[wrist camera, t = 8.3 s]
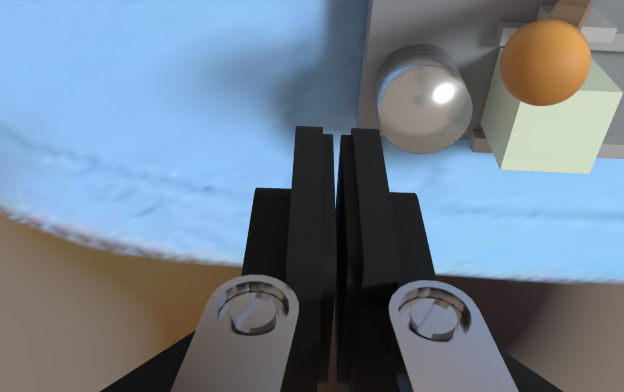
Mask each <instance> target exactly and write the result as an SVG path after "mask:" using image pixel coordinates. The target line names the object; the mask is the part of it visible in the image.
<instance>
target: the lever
mask: <svg viewBox="0 0 624 392" xmlns="http://www.w3.org/2000/svg"><path fill="white" fill-rule="evenodd" d="M593 1H594V0H559V1H558V2H557V4H556V6H555V7H554V9H553V10H552V12H551V14H550V15H549V17H548V18H547V19H543V20H538V21H534V22H532V23H529V24H527V25H525V26H523V27H522V28H520V29H519V30H518V31H516V32H515V33H514V34H513V35H512V36H511V37H510V39H509V40H508V41H507V43H506V45H505V47H504V49H503V51H502V54H501V58H500V75H501V79H502V81H503V84H504V86H505V87H506V89H507V90H508V91H509V93H510V94H511V95H512V96H514V97H515V98H516V99H518V100H519V101H521V102H523V103H526V104H529V105H533V106H550V105H554V104H558V103H560V102H563V101H565V100H567V99H568V98H570V97H571V96H573V95H574V94H575V93H576V92H577V91H578V90H579V89H580V88H581V87H582V85H583V84H584V82H585V81H586V79H587V77H588V74H589V71H590V67H591V51H590V47H589V44H588V42H587V40H586V38H585V37H584V35H583V34H582V33H581V32H580V31H581V29H582V27H583V25H584V23H585V20H586V18H587V16H588V14H589V12H590V9H591V6H592V3H593Z"/></svg>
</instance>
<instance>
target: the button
mask: <svg viewBox="0 0 624 392" xmlns="http://www.w3.org/2000/svg"><path fill="white" fill-rule="evenodd" d="M375 94H376V101H377V107H378V113H379V119H380V125H381V129H382V131H383V133H384V135H385V137H386V138H387V139H388V140H389V142H390V143H392V144H393V145H394V146H396V147H397V148H399V149H401V150H403V151H406V152H410V153H416V154H426V153H433V152H437V151H440V150H442V149H444V148H446V147H448V146H450V145H452V144H453V143H454V142H456V141H457V140H458V139H459V138H460V137H461V136H462V135H463V133H464V132H465V131H466V129H467V128H468V126H469V123H470V121H471V118H472V110H473V106H472V100H471V97H470V95H469V92H468V90H467V88H466V86H465V83H464V81H463V79H462V76H461V74H460V72H459V70H458V67H457V65H456V63H455V61H454V60H453V58H452V57H451V56H450V55H449V54H448V53H447V52H445V51H444V50H442V49H440V48H438V47H436V46H432V45H427V44H415V45H410V46H406V47H404V48H401V49H399V50H397V51H396V52H394V53H393V54H391V55H390V56H389V57H388V58H387V59H386V60H385V61H384V62H383V64H382V65H381V67H380V68H379V70H378V72H377V75H376V79H375Z"/></svg>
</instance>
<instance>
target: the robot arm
mask: <svg viewBox="0 0 624 392" xmlns="http://www.w3.org/2000/svg"><path fill="white" fill-rule="evenodd" d="M334 305H335V306H334ZM333 308H335V349H336V383H337V384H347V390H348V392H563V391H561V390H560V389H558V388H557V387H555V386H554V385H552V384H551V383H549V382H548V381H547V380H545V379H543V378H542V377H541V376H539V375H538V374H536V373H534V372H533V371H532V370H530V369H529V368H527V367H526V366H524V365H523V364H521V363H520V362H518V361H517V360H515V359H514V358H512V357H511V356H510V355H508V354H507V353H505V352H504V351H502V350H501V349H499V348H498V347H497V346H496V344H495V342H494V340H493V338H492V336H491V334H490V332H489V330H488V328H487V325H486V323H485V321H484V319H483V317H482V315H481V313H480V311H479V309H478V308H477V306H476V305H475V304H474V302H473V301H472V299H470V298H469V297H468V296H467V295H466V294H465V293H463V292H462V291H461V290H459V289H457V288H455V287H453V286H451V285H449V284H445V283H442V282H438V281H436V276H435V272H434V267H433V263H432V258H431V254H430V250H429V245H428V241H427V236H426V232H425V227H424V223H423V219H422V214H421V210H420V205H419V201H418V197H417V195H416V194H415V193H398V192H389V187H388V180H387V174H386V168H385V162H384V156H383V149H382V143H381V137H380V131H379V129H364V128H352V130H351V135H341V141H340V154H339V168H338V182H337V196H336V209H335V183H334V151H333V134H323V127H307V126H296V134H295V148H294V162H293V175H292V189H281V188H256V189H255V193H254V200H253V206H252V212H251V218H250V225H249V231H248V237H247V244H246V250H245V256H244V263H243V269H242V275H241V277H236V278H234V279H232V280H230V281H227V282H225V283H224V284H222V285H221V286H220V287H219V288H218V289H217V290H215V291H214V293H213V294H212V296H211V297H210V299H209V300H208V303H207V305H206V307H205V310H204V312H203V315H202V317H201V319H200V322H199V324H198V327H197V329H196V331H194V332H192V333H191V334H189V335H188V336H186V337H185V338H183V339H182V340H180V341H178V342H177V343H175V344H174V345H172V346H171V347H169V348H167V349H166V350H164V351H163V352H161V353H160V354H158V355H156V356H155V357H153V358H152V359H150V360H149V361H147V362H145V363H144V364H142V365H141V366H139V367H138V368H136V369H135V370H133V371H132V372H130V373H128V374H127V375H125V376H124V377H122V378H121V379H119V380H117V381H116V382H114V383H113V384H111V385H110V386H108V387H107V388H105V389H103V390H102V391H100V392H317V383H319V384H327V382H328V370H329V357H330V346H331V333H332V321H333Z"/></svg>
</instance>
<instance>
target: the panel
mask: <svg viewBox="0 0 624 392" xmlns="http://www.w3.org/2000/svg"><path fill="white" fill-rule="evenodd" d="M558 1H559V0H369V1H368V11H367V20H366V30H365V39H364V49H363V59H362V68H361V78H360V87H359V97H358V106H357V126H358V128H364V129H379V131H380V136H385V135H384V133H383V131H382V129H381V125H380V119H379V113H378V107H377V101H376V94H375V79H376V75H377V72H378V70H379V68H380V67H381V65H382V64H383V62H384V61H385V60H386V59H387V58H388V57H389V56H390V55H391V54H393V53H394V52H396V51H397V50H399V49H401V48H404V47H406V46H410V45H415V44H427V45H432V46H436V47H438V48H440V49H442V50H444V51H445V52H447V53H448V54H449V55H450V56H451V57H452V58H453V60H454V61H455V63H456V65H457V67H458V70H459V72H460V74H461V76H462V79H463V81H464V83H465V86H466V88H467V90H468V92H469V95H470V97H471V100H472V106H473V110H472V118H471V121H470V123H469V126H468V128H467V129H466V131H465V132H464V133H463V135H462V136H461V137H460V138H459V139H458V140H470V141H469V145H470V148H471V150H472V152H484V153H493V152H492V150H491V147H490V145H489V143H488V141H487V138H486V136H485V134H484V131H483V129H482V127H481V125H480V123H481V119H482V115H483V111H484V107H485V103H486V100H487V96H488V92H489V88H490V84H491V80H492V76H493V72H494V69H495V65H496V61H497V57H498V53H499V49H500V48H504V47H505V45H506V43H507V41H508V40H509V39H510V37H511V36H512V35H513V34H514V33H515V32H516V31H518V30H519V29H520V28H522V27H523V26H525V25H527V24H529V23H532V22H534V21H538V20H543V19H547V18H548V17H549V15H550V14H551V12H552V10H553V9H554V7H555V6H556V4H557V2H558ZM580 32H581V33H582V34H583V35H584V37H585V38H586V40H587V42H588V44H589V47H590V51H591V57H592V58H593V59H594V61H595V62H596V63H597V64H598V65H599V66H600V67H601V68H602V69H603V71H604V72H605V73H606V74H607V75H608V76H609V77H610V78H611V79H612V80H613V82H614V83H615V84H616V85H617V86H618V87H619V88H620V89H621V90H622V92H623V95H622V97H621V99H620V102H619V104H618V107H617V109H616V111H615V114H614V116H613V119H612V121H611V123H610V126H609V128H608V131H607V133H606V135H605V138H604V140H603V142H602V145H601V147H600V150H599V152H598V154H597V157H596V158H617V159H624V0H594V1H593V3H592V6H591V9H590V12H589V14H588V16H587V18H586V20H585V23H584V25H583V27H582V29H581V31H580Z"/></svg>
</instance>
